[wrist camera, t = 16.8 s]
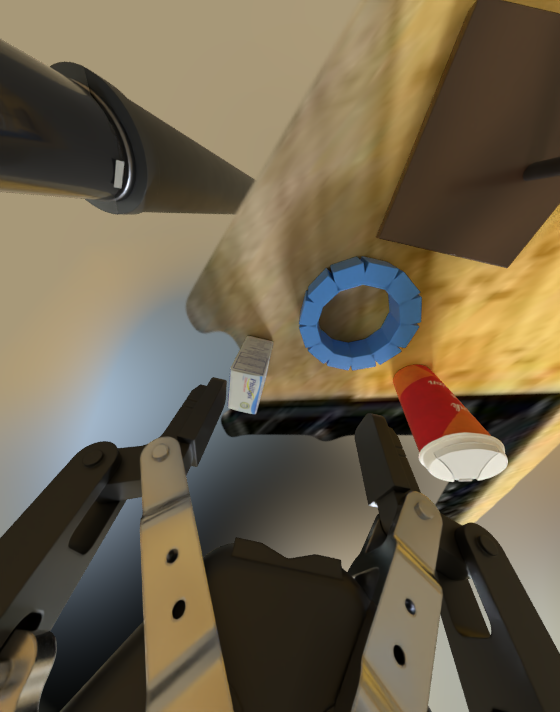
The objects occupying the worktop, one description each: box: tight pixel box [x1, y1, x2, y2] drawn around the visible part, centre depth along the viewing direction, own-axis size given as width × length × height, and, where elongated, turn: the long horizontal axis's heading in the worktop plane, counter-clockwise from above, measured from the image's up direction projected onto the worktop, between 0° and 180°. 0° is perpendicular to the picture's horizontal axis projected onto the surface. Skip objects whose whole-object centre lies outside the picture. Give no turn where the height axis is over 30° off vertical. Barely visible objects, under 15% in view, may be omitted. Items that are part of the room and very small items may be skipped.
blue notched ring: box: [299, 256, 422, 370], centre depth 26 cm, size 14×14×4 cm
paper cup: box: [393, 365, 508, 482], centre depth 26 cm, size 8×8×14 cm
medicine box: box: [228, 336, 273, 414], centre depth 30 cm, size 8×4×9 cm, turn 168°
